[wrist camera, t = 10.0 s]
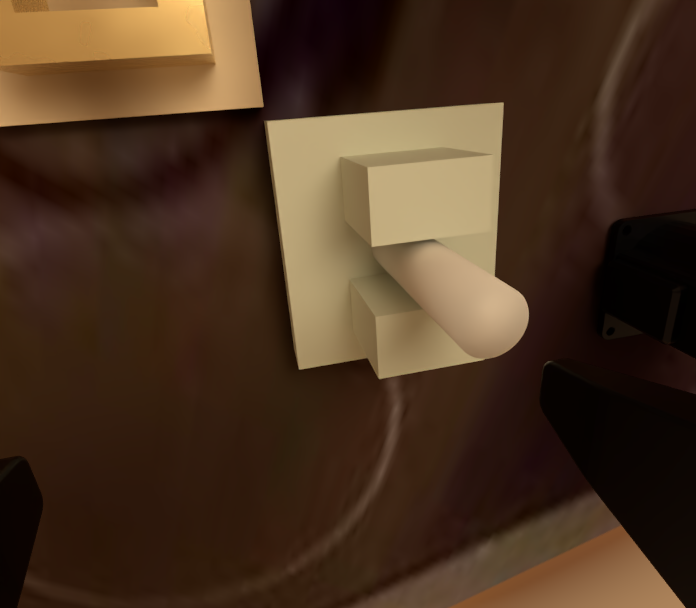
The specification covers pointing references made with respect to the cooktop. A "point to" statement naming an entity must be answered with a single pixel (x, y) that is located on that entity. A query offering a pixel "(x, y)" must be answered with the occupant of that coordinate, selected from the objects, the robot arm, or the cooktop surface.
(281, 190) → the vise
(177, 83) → the pad
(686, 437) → the robot arm
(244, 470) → the cooktop surface
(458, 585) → the cooktop surface
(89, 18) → the collar
